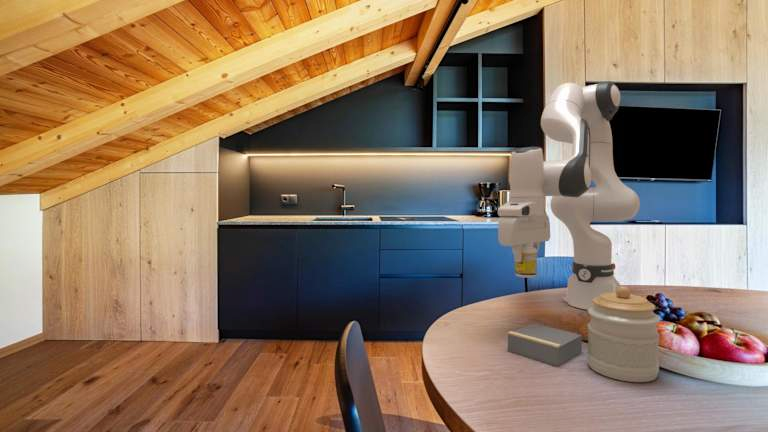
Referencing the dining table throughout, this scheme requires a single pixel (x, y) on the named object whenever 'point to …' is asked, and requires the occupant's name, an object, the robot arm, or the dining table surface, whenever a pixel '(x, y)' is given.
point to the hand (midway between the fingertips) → (525, 260)
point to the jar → (623, 337)
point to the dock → (545, 343)
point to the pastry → (584, 331)
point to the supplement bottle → (527, 262)
